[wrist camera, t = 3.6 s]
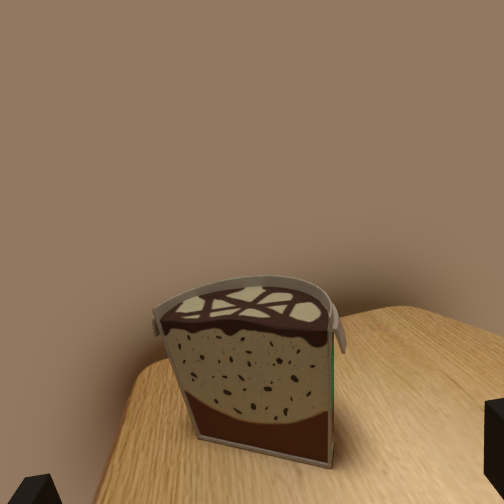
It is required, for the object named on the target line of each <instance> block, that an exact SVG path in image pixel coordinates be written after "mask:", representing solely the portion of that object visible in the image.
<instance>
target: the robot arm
mask: <svg viewBox="0 0 504 504" xmlns="http://www.w3.org/2000/svg"><path fill="white" fill-rule="evenodd" d="M484 475H485V476H486V477H487V479H488V480H489V481H490V483H491V484H492V485H493V486H494V488H495V489H496V490H497V492H498V493H499V494H500V496H501V497H502V498H503V500H504V398H500V399H494V400H488V401H485V414H484ZM8 504H62V502H61V499H60V497H59V494H58V492H57V490H56V487H55V485H54V482H53V480H52V478H51V475H50V474H44V475H38V476H32V477H26V478H24V480H23V481H22V483H21V484H20V486H19V487H18V489H17V490H16V492H15V493H14V495H13V496H12V498H11V499H10V501H9V502H8Z"/></svg>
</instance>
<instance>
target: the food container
mask: <svg viewBox="0 0 504 504" xmlns="http://www.w3.org/2000/svg"><path fill="white" fill-rule="evenodd" d="M153 314H154V317H153V318H152V327H153V336H154V337H157V336H158V335H161V337H162V340H163V343H164V346H165V348H166V351H167V354H168V357H169V360H170V362H171V365H172V368H173V371H174V373H175V376H176V379H177V382H178V385H179V387H180V390H181V393H182V396H183V398H184V401H185V404H186V407H187V409H188V412H189V415H190V418H191V421H192V423H193V426H194V429H195V432H196V434H197V437H198V439H202V440H207V441H211V442H215V443H220V444H224V445H228V446H233V447H237V448H242V449H246V450H250V451H255V452H259V453H263V454H268V455H272V456H277V457H281V458H285V459H290V460H294V461H298V462H303V463H307V464H312V465H316V466H320V467H325V468H329V469H332V463H333V455H334V332H335V335H336V338H337V341H338V344H339V346H340V349H341V352H342V354H345V351H346V337H345V333H344V330H343V327H342V324H341V321H340V318H339V315H338V312H337V310H336V308H335V306H334V304H333V303H332V302H331V300H330V298H329V296H328V295H327V294H326V292H325V291H324V290H323V289H321V288H320V287H318V286H317V285H315V284H312V283H310V282H308V281H305V280H301V279H298V278H292V277H286V276H271V275H270V276H269V275H263V276H247V277H239V278H232V279H227V280H222V281H217V282H213V283H210V284H206V285H203V286H200V287H196V288H193V289H191V290H188V291H186V292H183V293H181V294H179V295H176V296H174V297H172V298H170V299H169V300H167V301H165V302H163V303H161V304H160V305H158V306H157V307H155V308H153Z"/></svg>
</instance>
